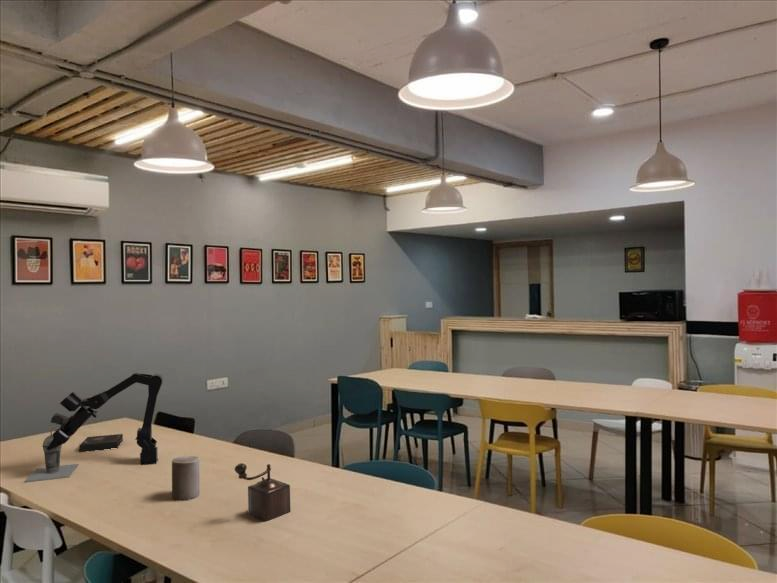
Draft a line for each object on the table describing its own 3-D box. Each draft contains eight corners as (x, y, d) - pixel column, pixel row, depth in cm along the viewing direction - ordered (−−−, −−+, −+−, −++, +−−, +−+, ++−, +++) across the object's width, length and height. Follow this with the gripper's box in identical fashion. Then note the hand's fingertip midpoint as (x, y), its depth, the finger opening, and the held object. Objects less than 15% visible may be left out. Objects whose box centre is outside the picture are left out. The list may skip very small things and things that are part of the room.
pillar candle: (170, 502, 194) (170, 460, 194) (173, 492, 204) (173, 453, 204) (199, 499, 197) (198, 458, 197) (200, 490, 206) (200, 450, 206)
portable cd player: (86, 444, 278) (86, 437, 278) (122, 441, 284) (122, 433, 284) (78, 453, 263) (78, 445, 263) (117, 449, 268) (117, 441, 268)
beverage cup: (48, 475, 226) (47, 427, 226) (39, 473, 230) (38, 425, 230) (66, 470, 232) (65, 423, 233) (56, 468, 236) (55, 422, 236)
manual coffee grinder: (271, 504, 190) (270, 453, 191) (291, 512, 183) (290, 458, 183) (233, 518, 179) (232, 464, 179) (252, 527, 171) (251, 470, 172)
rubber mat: (78, 465, 242) (78, 463, 242) (69, 477, 225) (69, 475, 225) (37, 469, 237) (37, 468, 237) (24, 482, 220) (24, 481, 220)
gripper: (68, 402, 242) (40, 430, 238) (58, 410, 224) (27, 440, 220) (88, 418, 244) (61, 446, 240) (80, 427, 226) (50, 457, 223)
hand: (50, 447), depth 231 cm, fingers open, 9 cm apart
